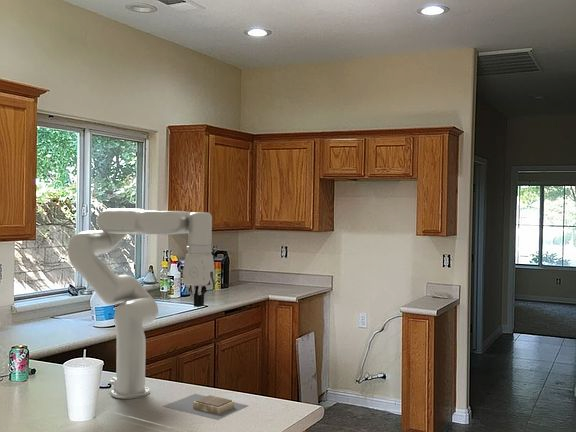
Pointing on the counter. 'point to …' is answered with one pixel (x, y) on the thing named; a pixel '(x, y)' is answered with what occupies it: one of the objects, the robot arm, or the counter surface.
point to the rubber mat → (187, 406)
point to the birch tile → (213, 404)
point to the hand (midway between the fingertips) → (198, 306)
